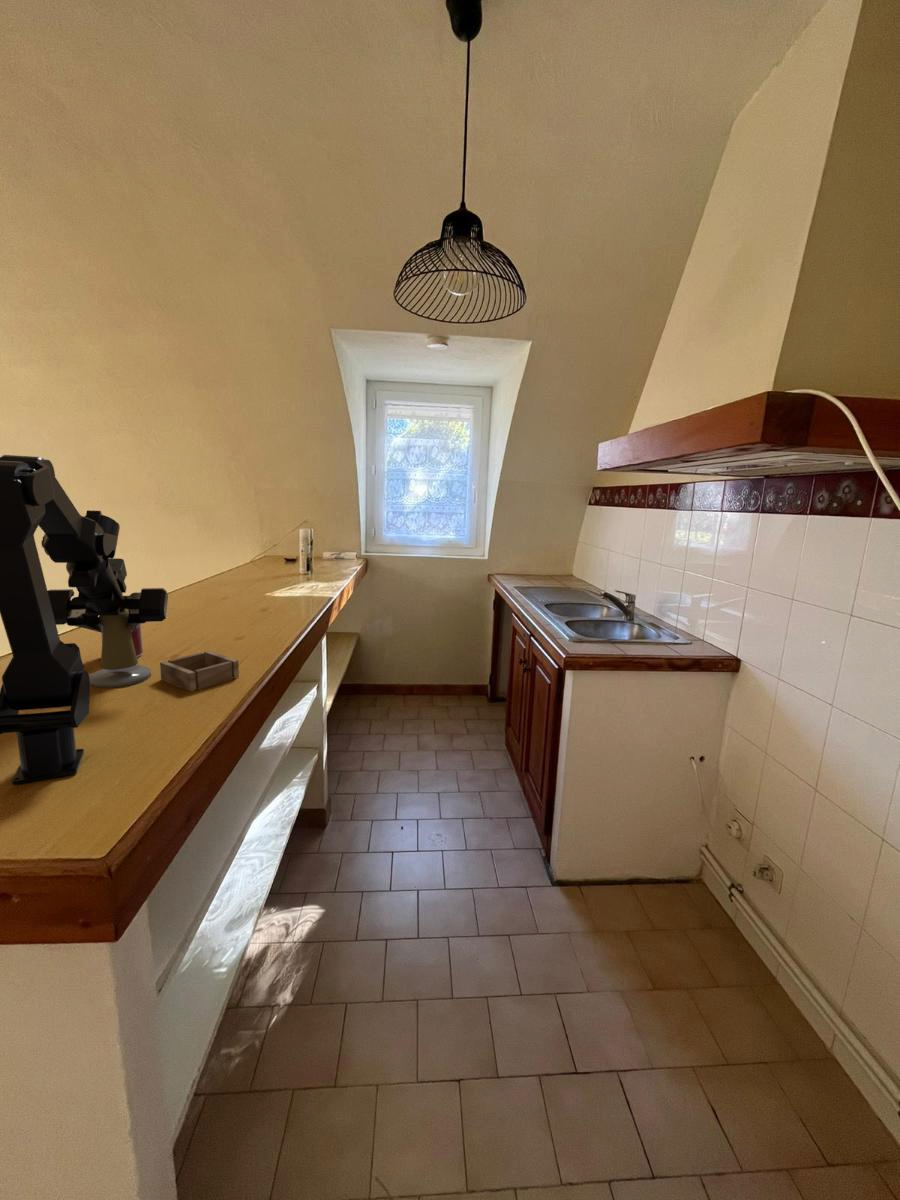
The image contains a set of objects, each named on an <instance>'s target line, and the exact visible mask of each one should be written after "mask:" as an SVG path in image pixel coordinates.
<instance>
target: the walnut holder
mask: <svg viewBox="0 0 900 1200" xmlns="http://www.w3.org/2000/svg"><path fill="white" fill-rule="evenodd" d="M159 667H160V680H162V681H163V680H164V681H163V682H166V683H168V684H171V685H173V684H174V686H176V687H178V688H180V687H181V689H183V690H184V691H185V690H186V691H188V692H190V691H192V692H195V691H197V690H202V689H205V688H208V687H211V685H212V686H215V685H218V684H222V683H225V682H228V681H232V680H233V679H234V678H235V679H237V678H240V672H239V671H240V670H239V669H240V668H239V660H237V659H234V658H232V657H229V656H225V655H224V654H223V655H222V654H220V653H216V652H213V651H212V650H211V651H210V650H206V651H203V652H198V653H194V654H193V653H192V654H189V655H186V656H181V657H177V658H173V659H168V660H167V661H166V660H164V661H162V662H159ZM232 677H233V678H232ZM231 679H232V680H231ZM224 681H225V682H224ZM221 682H222V683H221ZM207 686H208V687H207ZM204 687H205V688H204ZM196 688H197V689H196ZM201 688H202V689H201ZM194 690H195V691H194Z"/></svg>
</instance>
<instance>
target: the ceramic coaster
mask: <svg viewBox="0 0 900 1200" xmlns="http://www.w3.org/2000/svg"><path fill="white" fill-rule="evenodd" d="M151 676H152V671H151V668H150V667H149V666H147V665H143V664H137V665H135V666H132V667H129V668H125V669H117V670H107V669H102V668H101V669H99V670H96V671H94V672H92V673H91V674H89V679H90V684H91V685H90V686H92V685H93V686H92V687H95V686H96V688H102V687H104V688H103V689H105V688H106V689H108V688H110V689H111V688H122V687H127V686H134V685H136V684H141V683H142V682H144V681H147V680H148V679H149V678H151Z"/></svg>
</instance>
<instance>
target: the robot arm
mask: <svg viewBox="0 0 900 1200" xmlns="http://www.w3.org/2000/svg"><path fill="white" fill-rule="evenodd" d="M54 468H55V467H54V465H53V463H52V462H51V460H50V459H44V457H41V456H32V455H31V456H29V455H27V456H26V455H11V454H3V455H2V456H0V617H1V622H2V625H3V627H4V631H5V634H6V638H7V640H8V644H9V648H10V650H11V654H12V657H11V659H10V661H9V663H8V665H7V666H6V669H5V670H4V672H3V674H2V676H1V681H2V684H1V687H0V735H3V734H11V733H16V739H17V745H18V746H17V747H18V754H19V761H20V762H19V763H20V765H19V767H18V768H17V770H16V772H15V774H14V776H13V777H12V778H11V784H12V785H18V784H23V783H31V782H36V781H40V780H47V779H54V778H59V777H65V776H66V777H67V776H71V775H72V776H73V775H75V774H77V773H78V770H79V767H80V765H81V762H82V759H83V758H84V753H85V750H84V748H77V746H76V737H75V728H76V729H77V728H79V726H80V725H81V724H82V723H83V721H84V720H86V718H87V717H88V715H90V691H91V689H90V686H91V685H90V679H89V676H90V674H89V672H88V670H85V665H84V663H83V660H82V656H81V650H80V647H79V646H78V645H77V644H76V643H75V642H69V643H64V642H63V641H62V640H61V639H60V635H59V632H58V628H57V626H58V625H60V626H61V625H63V626H64V625H65V624H67V626H70V627H78V628H82V629H86V630H90V631H94V632H98V633H101V632H103V626H102V625H101V624H100V621H99V616H102V615H119V613H124V612H125V609H128V611H129V616H128V625H129V627H130V629H131V630H132V631H136V628H137V626H138V625H139V624H141V625H142V624H146V623H149V622H150V623H151V622H164V621H165V620H166V618H167V610H168V609H167V608H168V602H169V601H168V599H169V595H168V592H167V590H166V589H165V588H164V587H154V588H153V587H149V588H144V587H143V588H141V590H140V592H132V593H131V594H129V595H124V594H125V593H126V592H127V585H126V583H125V580H126V578H127V576H128V573H127V568H126V563H125V560H124V559H123V558H115V555H116V550H117V547H118V539H119V534H120V523H119V522H117V521H116V520H115V519H113V518H112V517H110V516H106V515H104V514H102V511H101V510H86V514H85V515H84V516H83V515H81V514H80V512H79V511H78V510H77V508H76V506H75V505H74V503H73V502H72V501H71V498H70V497H69V496H68V494H67V493H66V491H65V489H64V488H63V487H62V486H61V483H60V482H59V480H58V479H57V478H56V474H55V473H56V472H55V469H54ZM38 527H39V528H40V529H41V531H43V533H44V535H43V536H42V540H41V547H42V548H43V550H44V553H45V554H46V555H47V556H49V558H50V561H52V562H53V563H55V564H56V563H57V564H63V563H64V564H66V565H65V568H66V572H67V573H68V580H67V584H68V585H67V586H68V587H69V588H70V589H48V587H47V584H46V579H45V576H44V575H45V574H44V571H43V567H42V564H41V560H40V555H39V552H38V548H37V544H36V540H35V533H36V531H37V528H38ZM71 588H76V591H77V593H78V596H75V591H74V589H71ZM74 596H75V597H74ZM72 597H73V598H72ZM69 707H70V710H60V711H46V712H33V713H20V712H19V711H30V710H31V711H32V710H45V709H57V708H69Z"/></svg>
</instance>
